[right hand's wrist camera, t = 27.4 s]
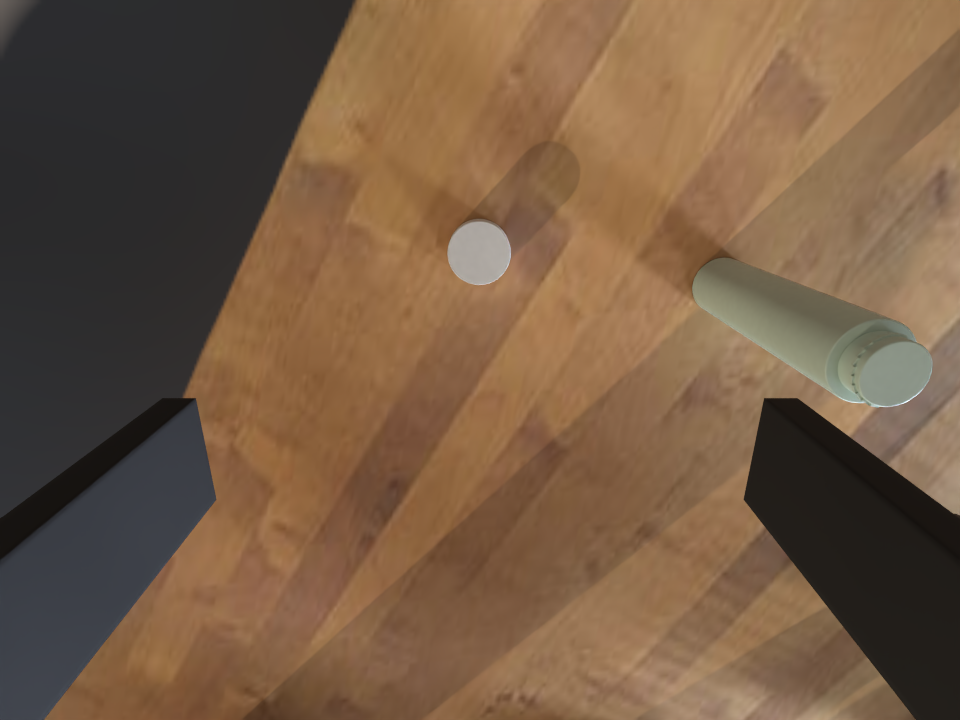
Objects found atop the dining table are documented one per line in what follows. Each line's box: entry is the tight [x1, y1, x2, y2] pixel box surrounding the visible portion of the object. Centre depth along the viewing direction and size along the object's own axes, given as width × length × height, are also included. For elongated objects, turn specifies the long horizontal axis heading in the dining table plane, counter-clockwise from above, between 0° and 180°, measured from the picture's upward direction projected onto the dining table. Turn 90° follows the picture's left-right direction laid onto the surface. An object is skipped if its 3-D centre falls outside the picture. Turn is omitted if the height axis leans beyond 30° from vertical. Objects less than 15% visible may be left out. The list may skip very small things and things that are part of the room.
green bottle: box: [692, 258, 932, 408], centre depth 32 cm, size 4×4×18 cm
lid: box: [448, 219, 511, 285], centre depth 39 cm, size 5×5×2 cm
